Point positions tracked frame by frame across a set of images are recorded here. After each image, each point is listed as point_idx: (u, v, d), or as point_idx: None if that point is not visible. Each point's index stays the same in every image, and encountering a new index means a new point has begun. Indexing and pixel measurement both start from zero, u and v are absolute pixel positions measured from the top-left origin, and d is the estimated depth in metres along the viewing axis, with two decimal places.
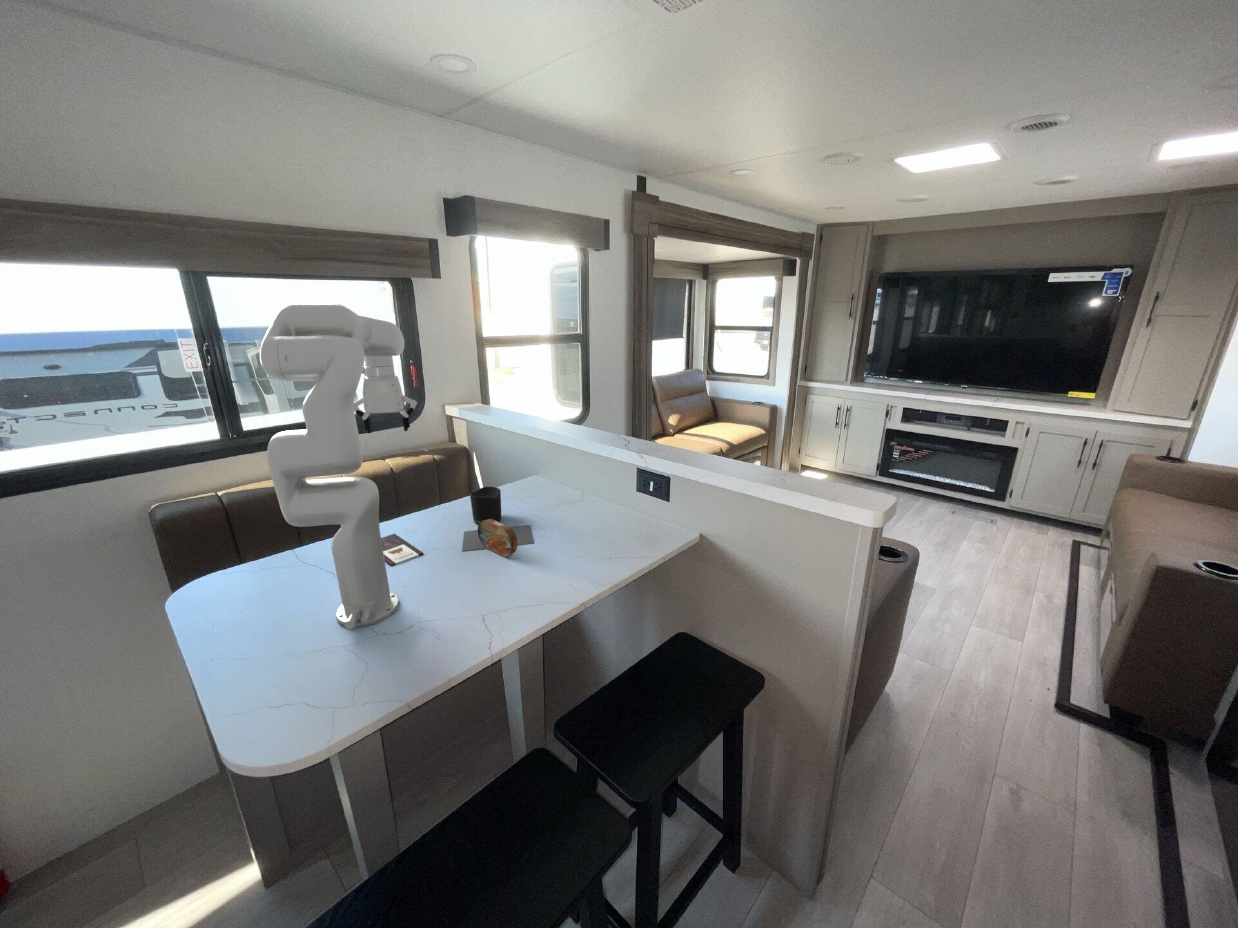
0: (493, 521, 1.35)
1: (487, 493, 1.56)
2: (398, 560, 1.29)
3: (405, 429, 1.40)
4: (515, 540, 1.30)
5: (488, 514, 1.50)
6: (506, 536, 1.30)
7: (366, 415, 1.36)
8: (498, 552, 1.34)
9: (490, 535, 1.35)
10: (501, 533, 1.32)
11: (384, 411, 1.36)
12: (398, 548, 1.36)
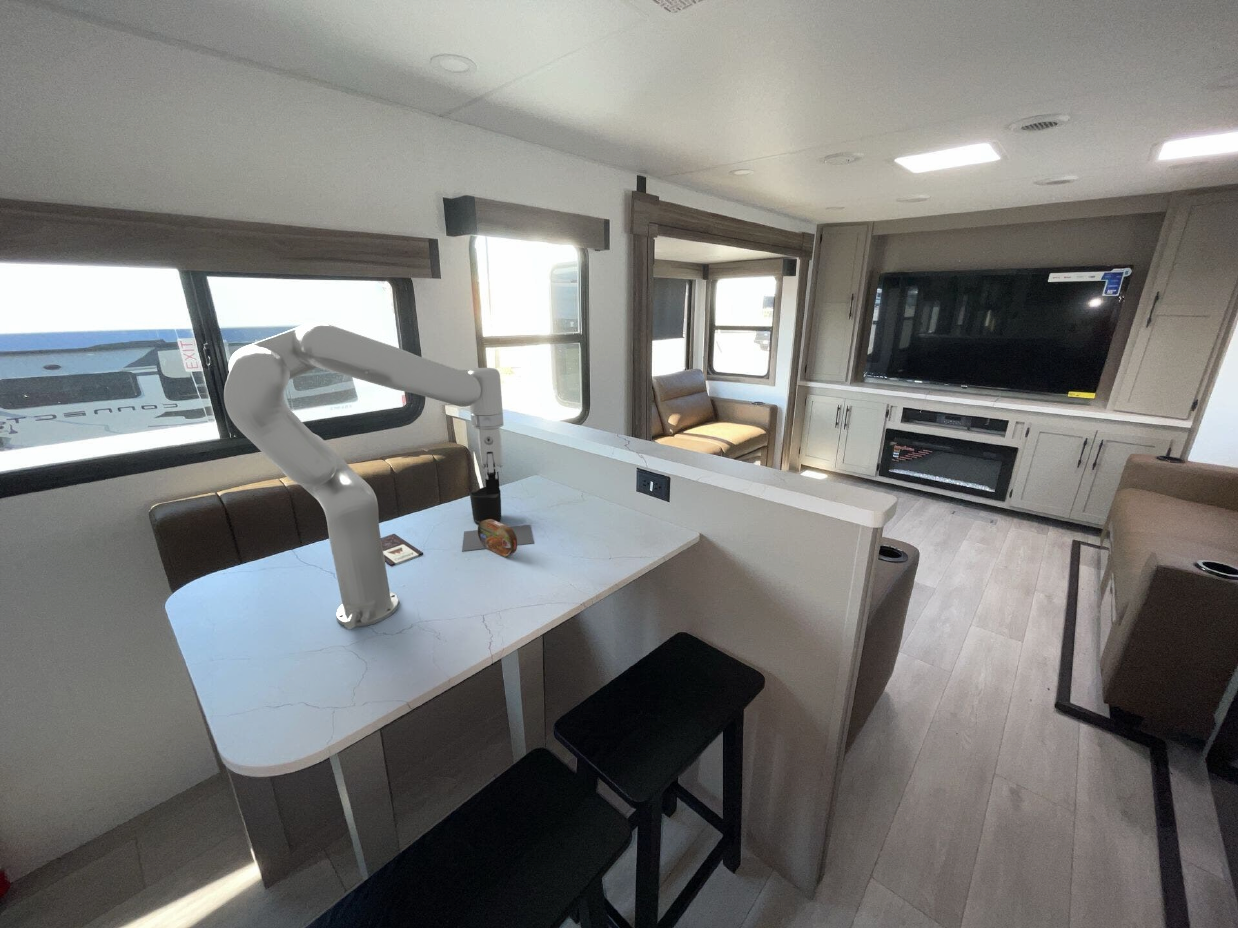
0: (493, 521, 1.35)
1: None
2: (398, 560, 1.30)
3: None
4: (515, 540, 1.30)
5: (488, 514, 1.50)
6: (506, 536, 1.30)
7: (497, 473, 1.18)
8: (498, 552, 1.34)
9: (490, 535, 1.35)
10: (501, 533, 1.32)
11: None
12: (398, 548, 1.36)
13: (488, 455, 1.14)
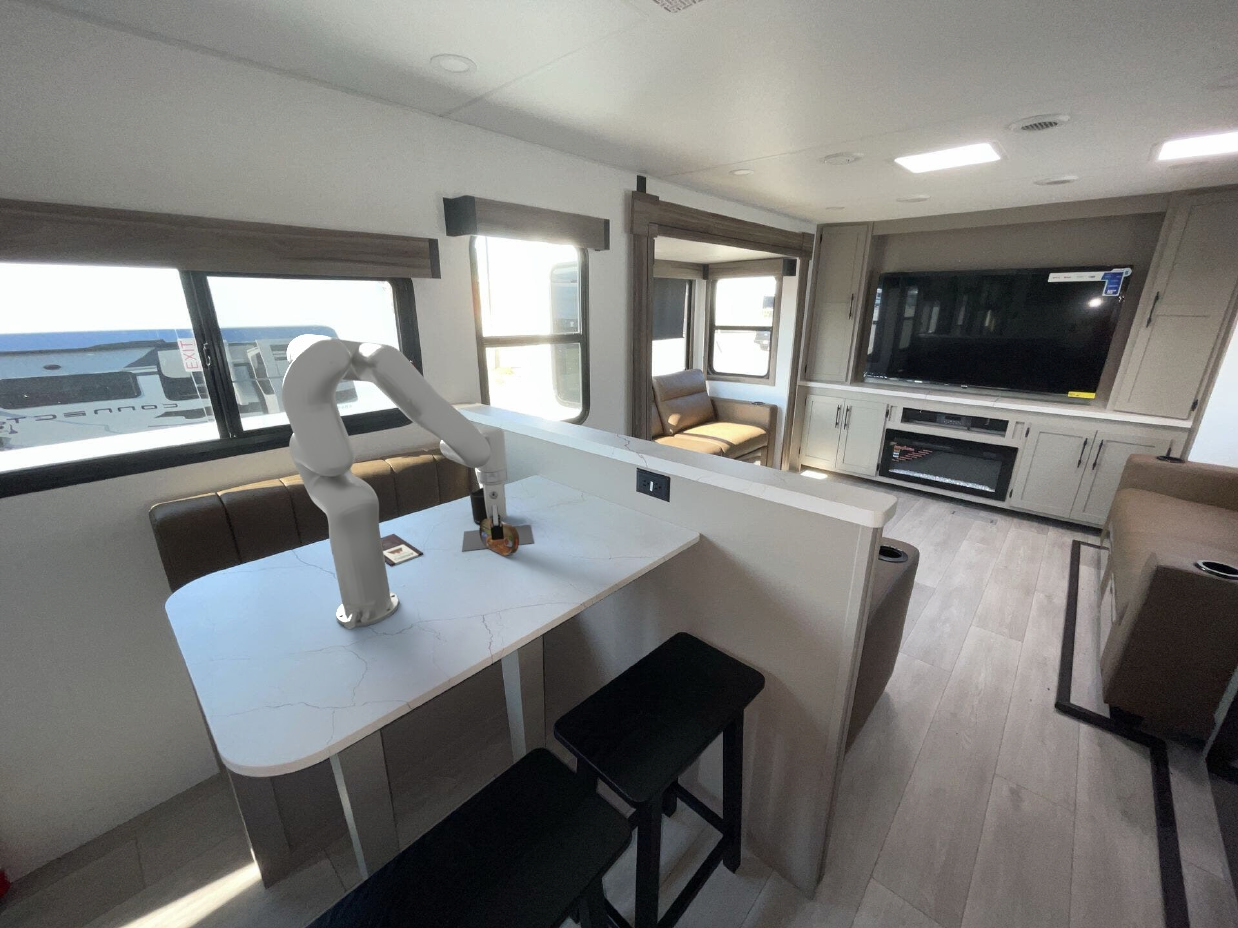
0: None
1: None
2: (398, 560, 1.30)
3: None
4: (517, 539, 1.31)
5: None
6: (508, 535, 1.31)
7: (501, 521, 1.28)
8: (498, 551, 1.34)
9: None
10: (503, 532, 1.32)
11: None
12: (398, 548, 1.36)
13: (493, 509, 1.23)
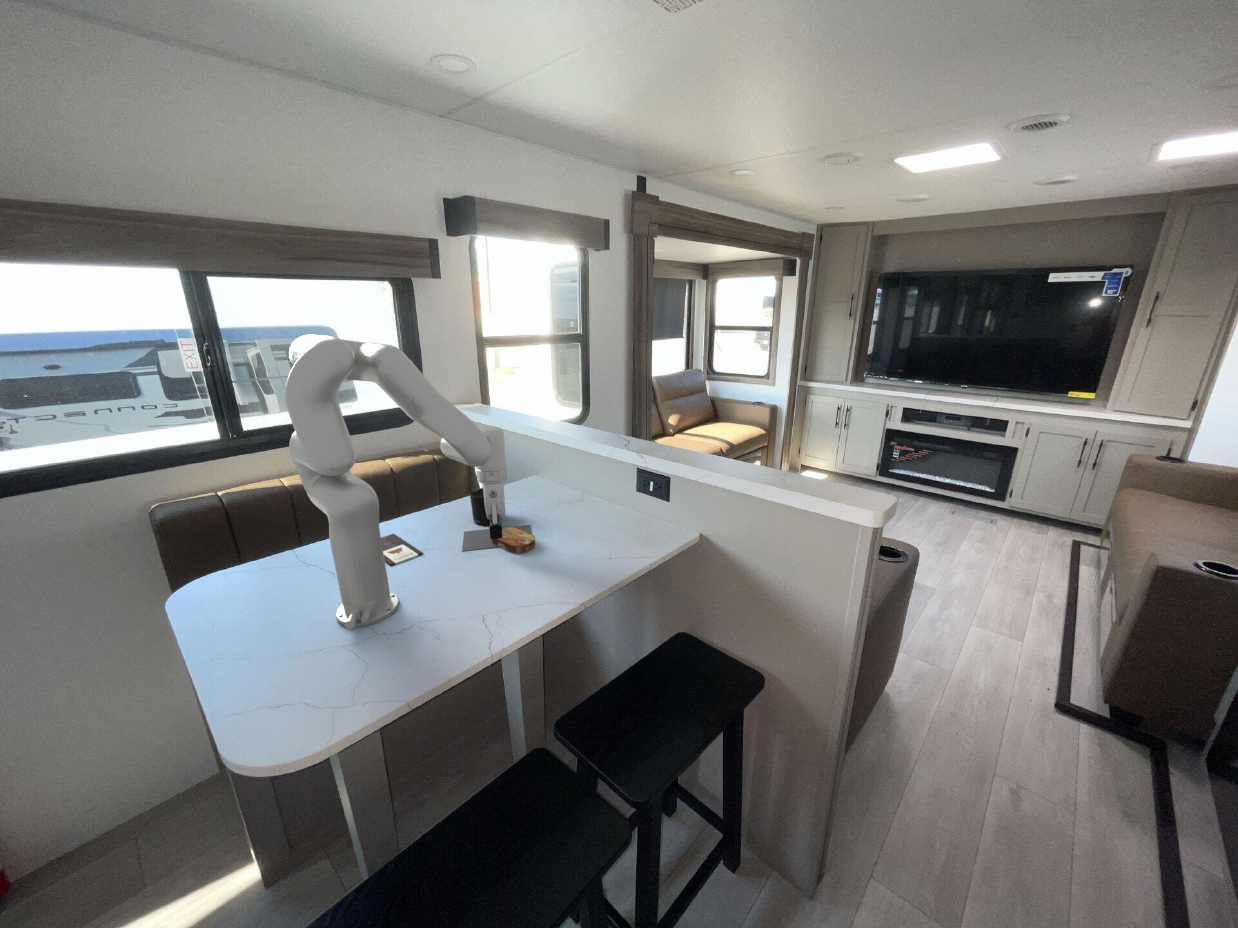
0: None
1: None
2: (398, 560, 1.30)
3: None
4: (532, 546, 1.36)
5: None
6: (529, 539, 1.38)
7: None
8: (505, 542, 1.35)
9: (508, 534, 1.40)
10: (525, 536, 1.39)
11: None
12: (397, 548, 1.36)
13: (492, 508, 1.24)
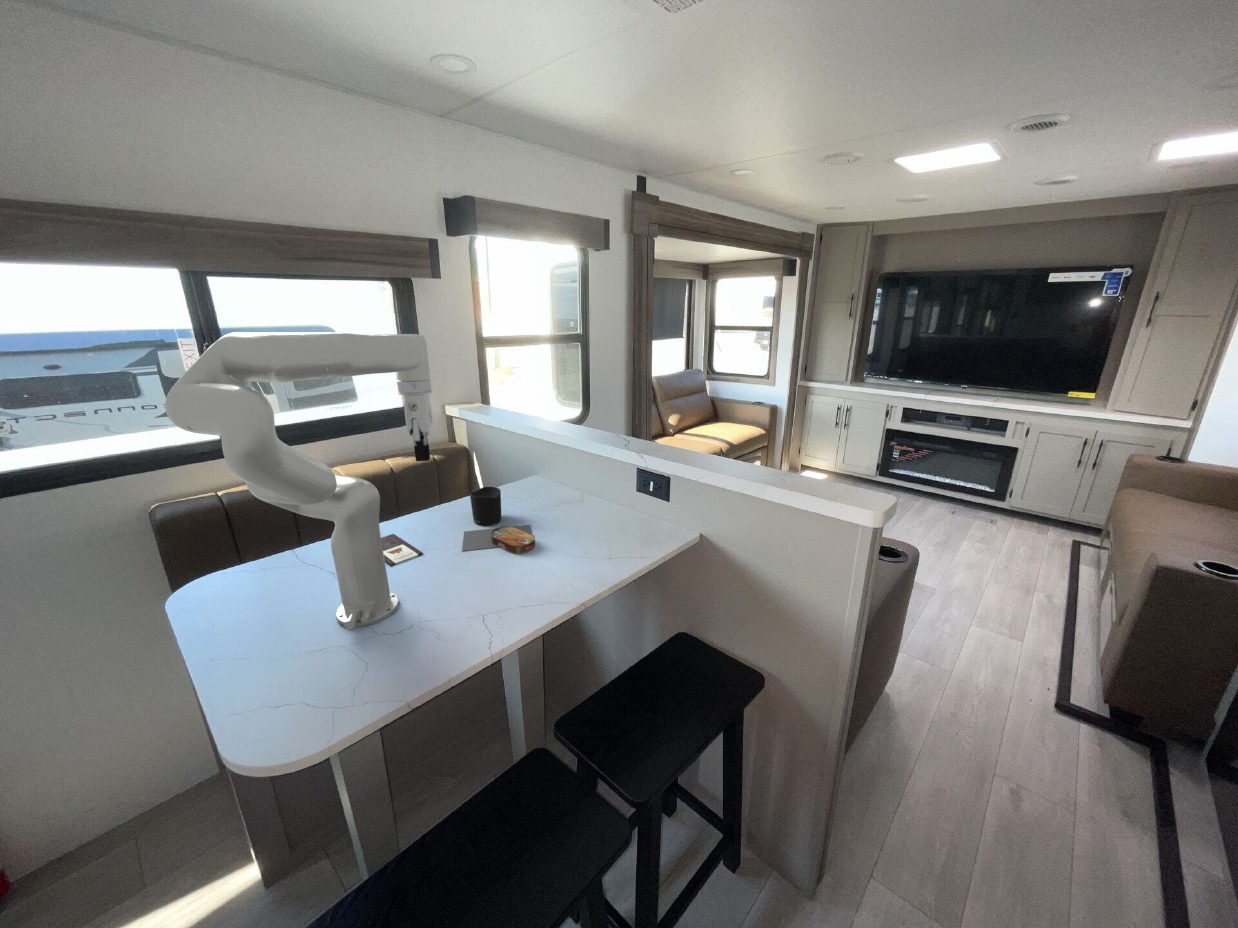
0: None
1: (487, 493, 1.56)
2: (398, 560, 1.30)
3: (429, 457, 1.22)
4: (532, 546, 1.36)
5: (488, 514, 1.50)
6: (529, 539, 1.38)
7: (425, 439, 1.19)
8: (505, 542, 1.35)
9: (508, 534, 1.40)
10: (525, 536, 1.39)
11: (431, 429, 1.20)
12: (397, 548, 1.36)
13: (413, 423, 1.14)
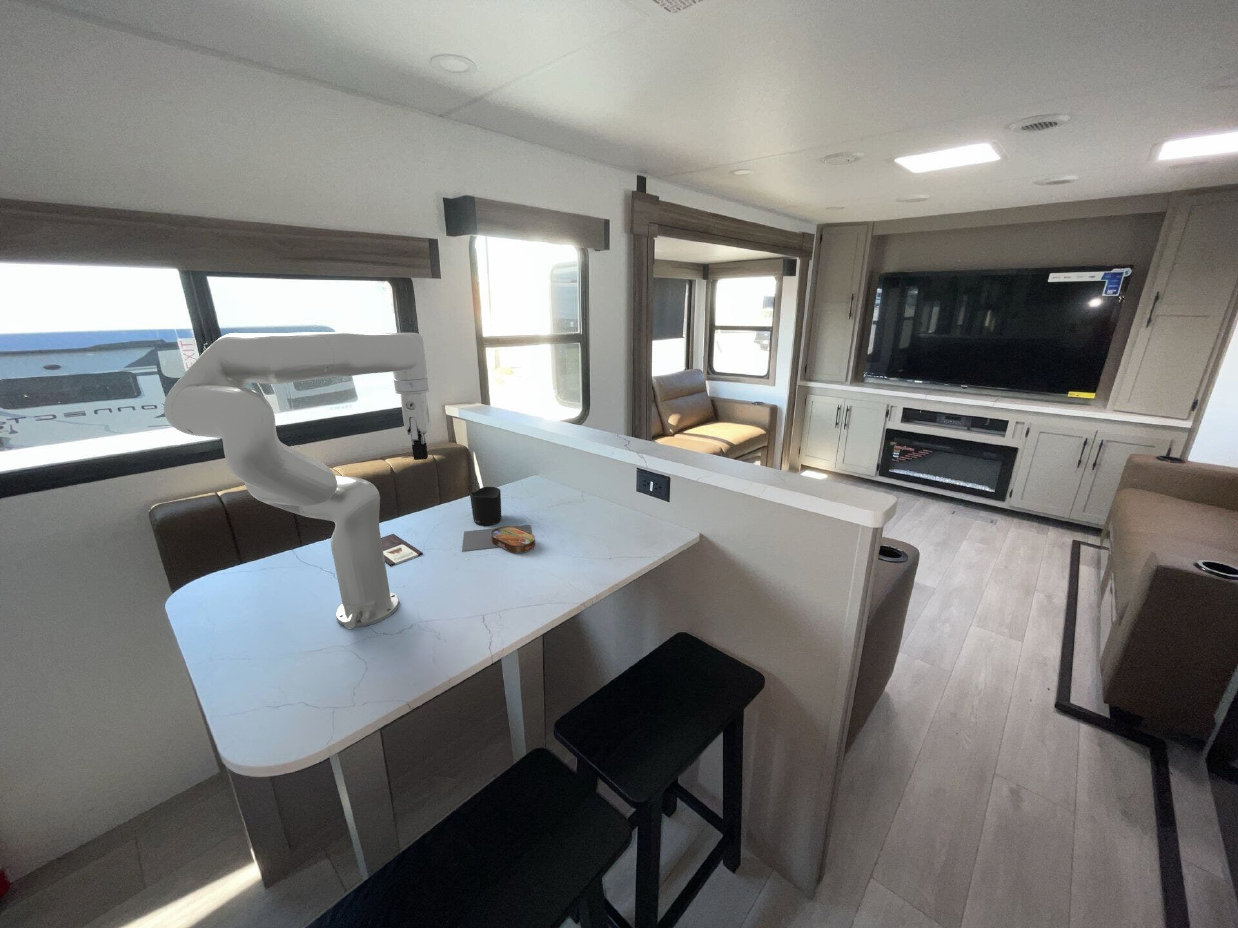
0: None
1: (487, 493, 1.56)
2: (398, 560, 1.30)
3: (427, 455, 1.22)
4: (532, 546, 1.36)
5: (488, 514, 1.50)
6: (529, 538, 1.38)
7: (423, 438, 1.19)
8: (505, 542, 1.35)
9: (508, 534, 1.40)
10: (525, 536, 1.39)
11: (429, 428, 1.20)
12: (397, 548, 1.36)
13: (411, 422, 1.14)
